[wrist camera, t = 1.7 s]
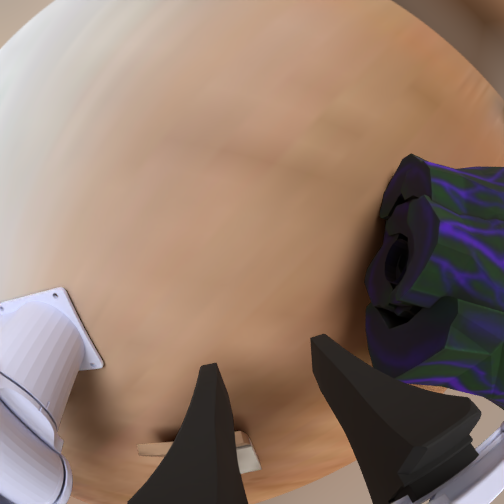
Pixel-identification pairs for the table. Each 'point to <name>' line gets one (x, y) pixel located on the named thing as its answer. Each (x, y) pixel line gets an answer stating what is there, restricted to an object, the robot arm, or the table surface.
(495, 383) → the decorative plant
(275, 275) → the table surface
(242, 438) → the plank
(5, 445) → the robot arm
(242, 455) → the laid board
